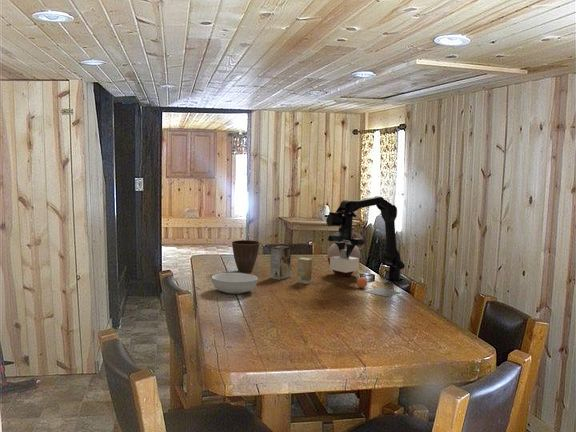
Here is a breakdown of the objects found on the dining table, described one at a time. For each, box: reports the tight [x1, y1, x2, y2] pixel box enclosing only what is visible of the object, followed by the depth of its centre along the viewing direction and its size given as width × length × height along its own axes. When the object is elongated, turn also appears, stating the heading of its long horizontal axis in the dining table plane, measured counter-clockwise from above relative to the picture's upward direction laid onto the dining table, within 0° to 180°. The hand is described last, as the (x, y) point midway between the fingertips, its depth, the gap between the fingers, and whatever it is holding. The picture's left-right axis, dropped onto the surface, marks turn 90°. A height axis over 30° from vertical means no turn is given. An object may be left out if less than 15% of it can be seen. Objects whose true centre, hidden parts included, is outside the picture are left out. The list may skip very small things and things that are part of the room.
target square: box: [364, 287, 401, 298], centre depth 254 cm, size 12×12×1 cm
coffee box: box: [269, 245, 292, 281], centre depth 279 cm, size 9×6×16 cm
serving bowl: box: [211, 272, 259, 295], centre depth 246 cm, size 21×21×7 cm
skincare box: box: [296, 257, 313, 285], centre depth 269 cm, size 6×4×12 cm
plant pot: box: [231, 239, 260, 274], centre depth 292 cm, size 15×15×16 cm
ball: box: [356, 277, 368, 289], centre depth 262 cm, size 5×5×5 cm
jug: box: [326, 225, 365, 278], centre depth 289 cm, size 20×18×30 cm
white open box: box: [329, 249, 360, 273], centre depth 269 cm, size 10×10×10 cm
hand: (344, 257), depth 269 cm, fingers closed on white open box, 3 cm apart
